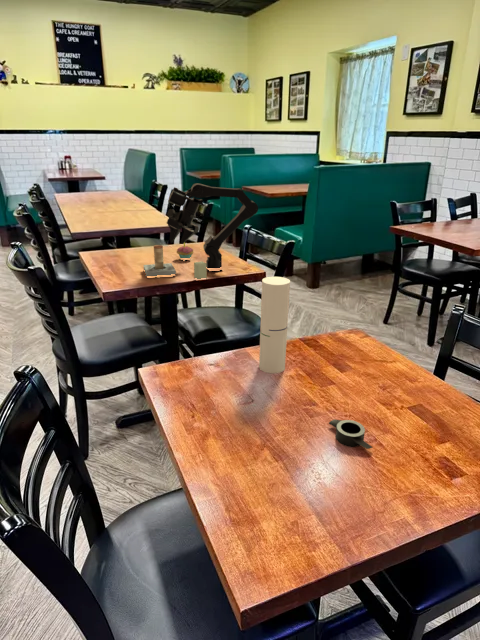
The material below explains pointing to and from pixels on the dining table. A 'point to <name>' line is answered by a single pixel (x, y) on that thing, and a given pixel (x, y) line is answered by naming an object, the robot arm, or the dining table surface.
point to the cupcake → (185, 251)
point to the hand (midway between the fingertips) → (176, 242)
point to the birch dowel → (158, 257)
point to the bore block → (152, 271)
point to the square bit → (200, 270)
